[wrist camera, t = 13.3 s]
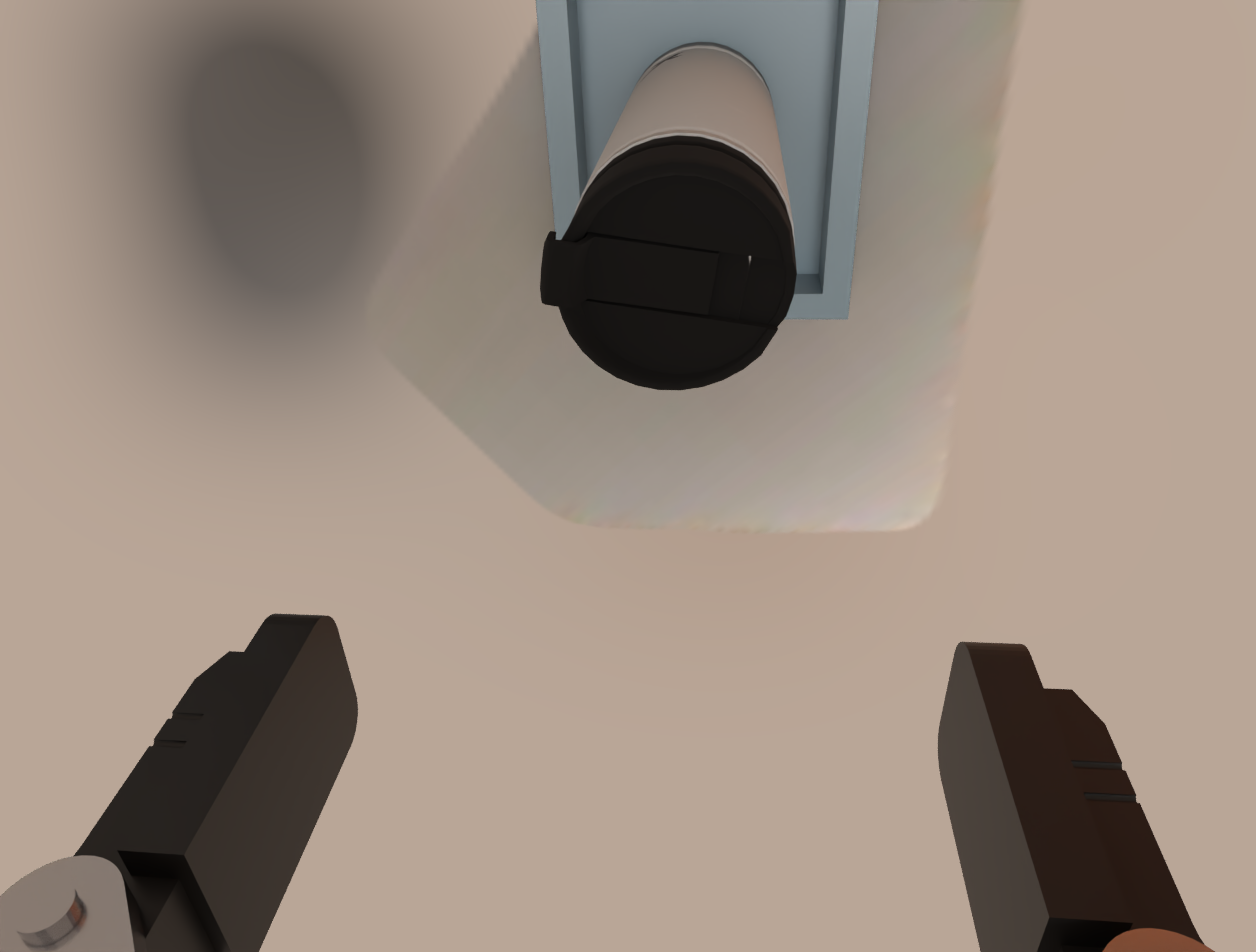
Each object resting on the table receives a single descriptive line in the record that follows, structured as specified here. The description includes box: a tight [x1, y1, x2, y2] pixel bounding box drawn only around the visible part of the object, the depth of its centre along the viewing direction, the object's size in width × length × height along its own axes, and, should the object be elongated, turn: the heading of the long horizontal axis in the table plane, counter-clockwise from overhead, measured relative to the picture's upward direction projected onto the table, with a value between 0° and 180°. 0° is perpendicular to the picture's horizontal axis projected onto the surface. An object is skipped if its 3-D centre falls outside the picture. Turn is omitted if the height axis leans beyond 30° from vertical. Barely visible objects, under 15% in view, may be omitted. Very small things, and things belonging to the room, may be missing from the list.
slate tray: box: [536, 0, 879, 319], centre depth 39 cm, size 16×13×4 cm
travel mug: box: [540, 42, 797, 390], centre depth 31 cm, size 6×7×20 cm
